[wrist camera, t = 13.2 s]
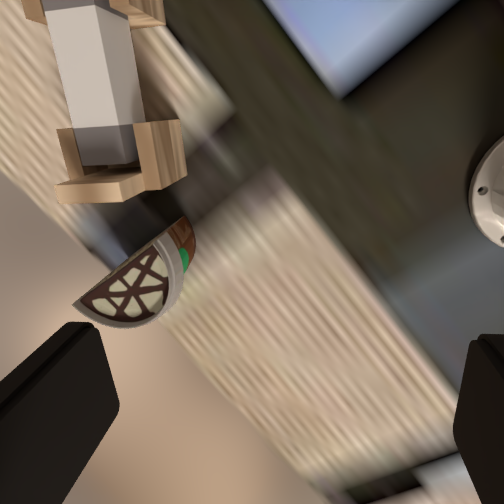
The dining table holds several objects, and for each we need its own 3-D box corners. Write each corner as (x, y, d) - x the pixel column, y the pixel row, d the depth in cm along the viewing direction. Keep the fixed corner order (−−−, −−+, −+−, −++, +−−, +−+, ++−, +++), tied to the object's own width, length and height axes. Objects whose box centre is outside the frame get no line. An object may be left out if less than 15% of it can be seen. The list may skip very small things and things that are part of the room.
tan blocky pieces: (155, -52, 29) (74, -134, 19) (187, 175, 36) (140, 201, 26) (65, -37, 31) (-54, -105, 21) (113, 178, 38) (42, 204, 28)
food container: (153, 301, 43) (112, 352, 34) (120, 263, 42) (68, 307, 33) (228, 251, 39) (204, 295, 30) (194, 207, 38) (157, 240, 29)
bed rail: (121, -24, 28) (84, -49, 23) (151, 155, 33) (126, 163, 29) (76, -17, 28) (31, -40, 24) (113, 157, 34) (82, 165, 29)
